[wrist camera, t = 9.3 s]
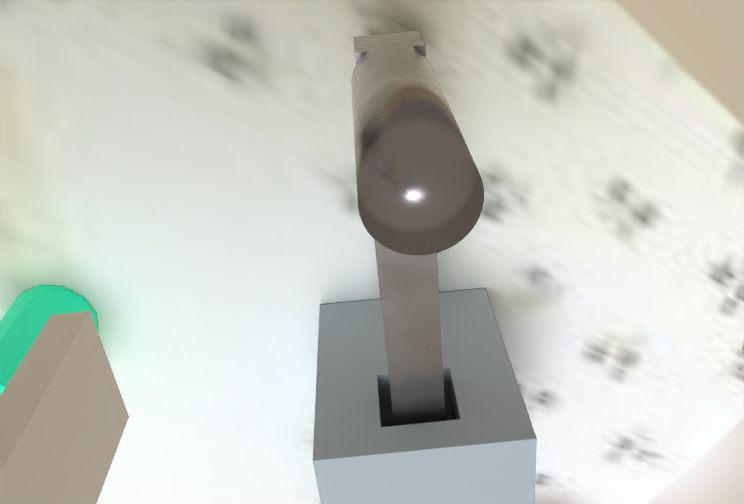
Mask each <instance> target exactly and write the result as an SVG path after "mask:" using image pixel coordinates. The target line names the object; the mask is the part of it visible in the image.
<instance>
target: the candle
mask: <svg viewBox="0 0 744 504" xmlns="http://www.w3.org/2000/svg"><path fill="white" fill-rule="evenodd" d="M83 311H90V312H91V315H92V318H93V321H94V323H95V326H96V329H97V331H98V324H97V314H96V312H95V311H94V310H93V308H92V307H91V306H90V305H89V303H88V302H87V301H86V299H85V298H84V297H83V296H81V295H79V294H77V293H75V292H73V291H71V290H69V289H67V288H65V287H63V286H50V285H38V286H36V287H34V288H31V289H29V290H27V291H24V292H22V293H21V294H20V295H19V297H18V298H17V299H16V301H15V302H14V303H13V305H12V306H11V308H10V309H9V310H8V312H7V313H6V314H5V316H4V317H3V318H2V320H1V321H0V395H1V393H2V392H3V390H4V389H5V387H6V386H7V384H8V382H9V381H10V379H11V378H12V376H13V374H14V373H15V371H16V370H17V368H18V366H19V365H20V363H21V362H22V360H23V359H24V357H25V355H26V354H27V352H28V351H29V349H30V347H31V346H32V344H33V343H34V341H35V339H36V338H37V336H38V335H39V333H40V332H41V330H42V328H43V327H44V325H45V324H46V322H47V320H48V319H49V317H50V316H51V315H56V314H65V313H74V312H83Z"/></svg>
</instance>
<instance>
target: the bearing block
mask: <svg viewBox="0 0 744 504" xmlns="http://www.w3.org/2000/svg"><path fill="white" fill-rule="evenodd" d="M439 307H440V325H441V344H442V362H443V380H444V398H445V416H446V421H439V422H429V423H419V424H409V425H398V426H394V420H393V410H392V401H391V391H390V381H389V372H388V362H387V353H386V343H385V334H384V324H383V315H382V305H381V299H371V300H361V301H351V302H341V303H332V304H322V305H320V314H319V336H318V359H317V381H316V404H315V426H314V449H313V464H314V469H315V474H316V479H317V485H318V490H319V495H320V501H321V504H534V502H535V471H536V441H537V438H536V436H535V433H534V430H533V427H532V424H531V421H530V418H529V415H528V412H527V409H526V406H525V403H524V400H523V398H522V395H521V392H520V389H519V386H518V383H517V380H516V377H515V374H514V371H513V368H512V365H511V363H510V360H509V357H508V354H507V351H506V348H505V345H504V342H503V339H502V336H501V333H500V330H499V327H498V325H497V322H496V319H495V316H494V313H493V310H492V307H491V304H490V301H489V298H488V295H487V292H486V290H485V288H479V289H470V290H460V291H450V292H440V293H439Z"/></svg>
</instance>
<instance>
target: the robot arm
mask: <svg viewBox="0 0 744 504" xmlns="http://www.w3.org/2000/svg"><path fill="white" fill-rule="evenodd" d="M742 352H743V353H744V344H743V349H742ZM128 417H129V416H128V413H127V410H126V408H125V405H124V402H123V400H122V397H121V394H120V391H119V389H118V386H117V383H116V380H115V378H114V375H113V372H112V370H111V367H110V364H109V361H108V359H107V356H106V353H105V351H104V348H103V345H102V342H101V340H100V337H99V334H98V331H97V329H96V326H95V323H94V321H93V318H92V315H91V312H90V311H83V312H74V313H65V314H56V315H51V316H50V317H49V319H48V320H47V322H46V324H45V325H44V327H43V328H42V330H41V332H40V333H39V335H38V336H37V338H36V339H35V341H34V343H33V344H32V346H31V347H30V349H29V351H28V352H27V354H26V355H25V357H24V359H23V360H22V362H21V363H20V365H19V366H18V368H17V370H16V371H15V373H14V374H13V376H12V378H11V379H10V381H9V382H8V384H7V386H6V387H5V389H4V390H3V392H2V393H1V395H0V504H96V503H97V500H98V497H99V495H100V492H101V489H102V487H103V484H104V481H105V479H106V476H107V473H108V471H109V468H110V465H111V463H112V460H113V457H114V455H115V452H116V449H117V447H118V444H119V441H120V439H121V436H122V433H123V431H124V428H125V425H126V423H127V420H128Z"/></svg>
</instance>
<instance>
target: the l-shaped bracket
mask: <svg viewBox="0 0 744 504" xmlns="http://www.w3.org/2000/svg"><path fill="white" fill-rule="evenodd" d="M354 47H355V57H356V66H355V68H354V71H353V75H352V101H353V119H354V137H355V155H356V174H357V192H358V208H359V213H360V217H361V220H362V222H363V224H364V226H365V228H366V229H367V231H368V232H369V234H370V235H371V236H372V237H373V238H374V239H375V248H376V258H377V267H378V277H379V286H380V296H381V305H382V315H383V324H384V334H385V343H386V353H387V362H388V372H389V381H390V391H391V401H392V410H393V420H394V426H398V425H409V424H419V423H429V422H439V421H446V416H445V398H444V380H443V362H442V344H441V325H440V307H439V289H438V271H437V253H438V252H441V251H443V250H446V249H448V248H450V247H452V246H454V245H455V244H457V243H458V242H459V241H461V240H462V239H463V238H464V237H465V236H466V235H467V234H468V233H469V232H470V231H471V230H472V228H473V227H474V225H475V224H476V222H477V220H478V218H479V216H480V214H481V211H482V207H483V202H484V189H483V183H482V179H481V177H480V174H479V172H478V170H477V167H476V165H475V163H474V161H473V159H472V156H471V154H470V152H469V150H468V147H467V145H466V143H465V141H464V139H463V136H462V134H461V132H460V130H459V127H458V125H457V123H456V121H455V119H454V116H453V114H452V112H451V110H450V107H449V105H448V103H447V101H446V99H445V96H444V94H443V92H442V90H441V87H440V85H439V83H438V81H437V79H436V76H435V74H434V72H433V70H432V67H431V65H430V63H429V61H428V60H427V58H426V53H425V44H424V42H423V40H422V38H421V36H420V33H419V31H418V30H417V31H408V32H398V33H389V34H379V35H370V36H360V37H354Z"/></svg>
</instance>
